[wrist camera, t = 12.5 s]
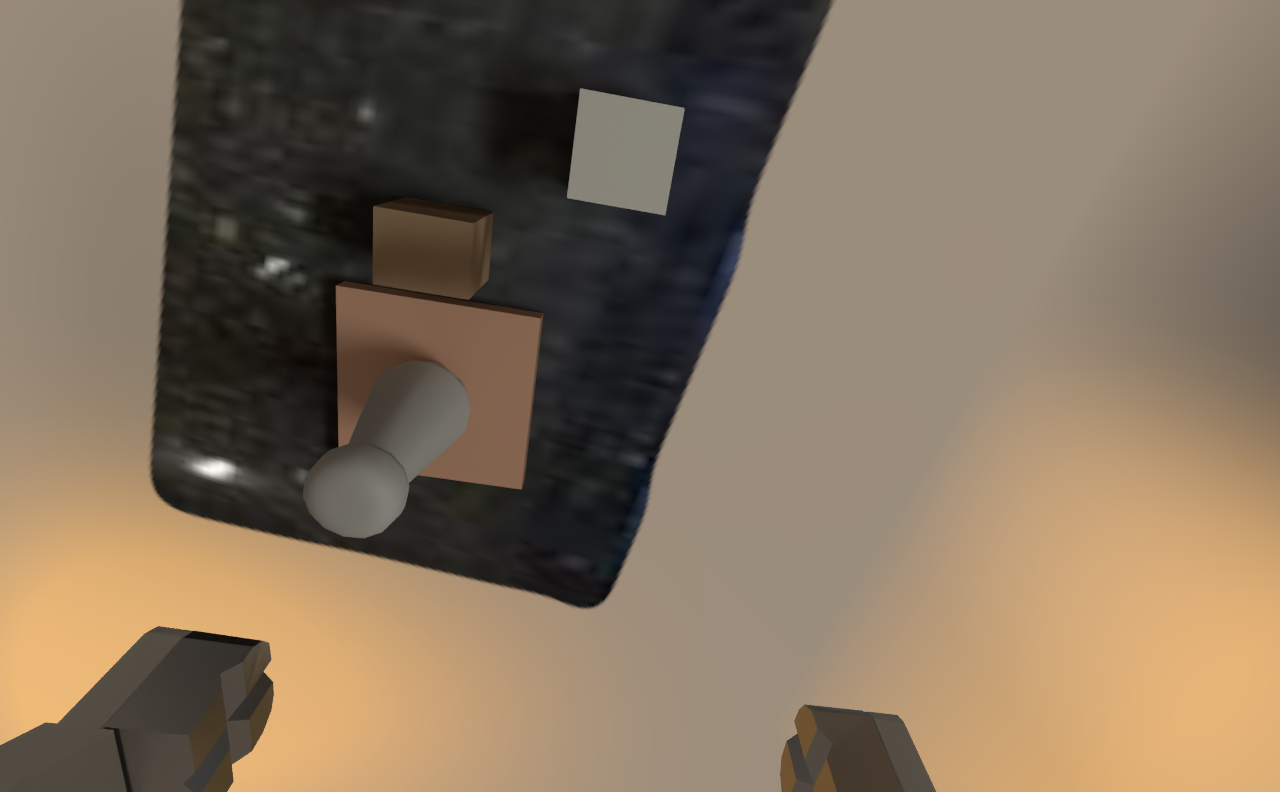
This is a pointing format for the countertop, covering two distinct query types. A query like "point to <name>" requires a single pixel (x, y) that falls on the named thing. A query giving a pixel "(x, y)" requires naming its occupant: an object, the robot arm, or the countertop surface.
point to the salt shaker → (387, 448)
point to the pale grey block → (624, 151)
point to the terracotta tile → (463, 343)
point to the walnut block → (431, 247)
